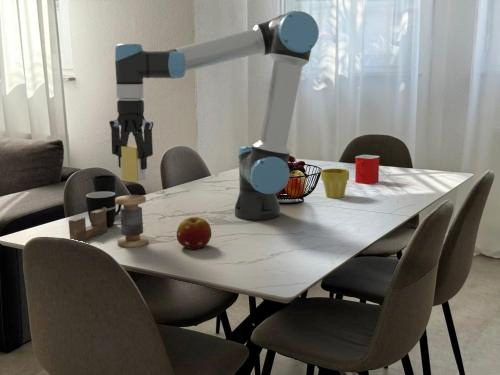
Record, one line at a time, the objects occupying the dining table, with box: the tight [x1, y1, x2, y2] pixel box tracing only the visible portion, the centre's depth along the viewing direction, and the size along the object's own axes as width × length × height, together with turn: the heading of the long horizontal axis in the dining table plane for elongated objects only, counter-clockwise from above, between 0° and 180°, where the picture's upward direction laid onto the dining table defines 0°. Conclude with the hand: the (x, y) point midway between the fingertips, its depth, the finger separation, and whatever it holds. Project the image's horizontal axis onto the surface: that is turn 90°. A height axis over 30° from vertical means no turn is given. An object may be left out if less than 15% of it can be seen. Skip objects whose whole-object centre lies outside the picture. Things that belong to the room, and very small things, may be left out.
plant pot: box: [320, 167, 350, 199], centre depth 225 cm, size 10×10×10 cm
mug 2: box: [354, 154, 380, 185], centre depth 249 cm, size 12×8×11 cm
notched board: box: [68, 209, 108, 243], centre depth 176 cm, size 2×14×7 cm, turn 157°
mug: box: [85, 191, 122, 229], centre depth 189 cm, size 12×9×10 cm
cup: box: [92, 174, 117, 194], centre depth 207 cm, size 8×8×12 cm
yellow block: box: [121, 144, 140, 183], centre depth 176 cm, size 5×4×10 cm
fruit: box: [176, 216, 212, 250], centre depth 166 cm, size 10×9×8 cm
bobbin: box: [115, 194, 149, 249], centre depth 169 cm, size 8×8×13 cm
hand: (133, 179), depth 177 cm, fingers closed on yellow block, 5 cm apart
